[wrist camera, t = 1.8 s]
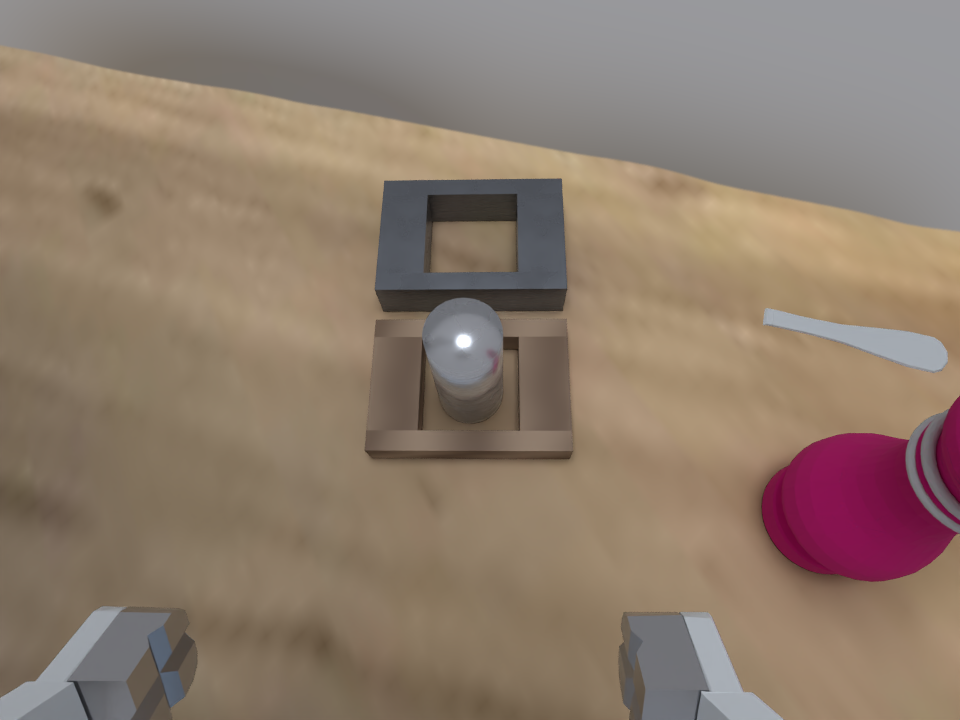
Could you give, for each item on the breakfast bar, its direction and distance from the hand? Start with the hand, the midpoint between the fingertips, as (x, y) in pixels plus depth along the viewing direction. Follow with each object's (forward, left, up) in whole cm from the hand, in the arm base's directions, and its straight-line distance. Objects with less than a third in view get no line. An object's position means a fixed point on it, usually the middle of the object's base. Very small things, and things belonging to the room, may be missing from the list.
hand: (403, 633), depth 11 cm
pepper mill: (+20, +5, -24) cm, 31 cm away
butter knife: (+18, +18, -24) cm, 35 cm away
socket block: (0, +23, -24) cm, 33 cm away
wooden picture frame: (0, +13, -24) cm, 27 cm away
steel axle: (0, +13, -24) cm, 27 cm away
